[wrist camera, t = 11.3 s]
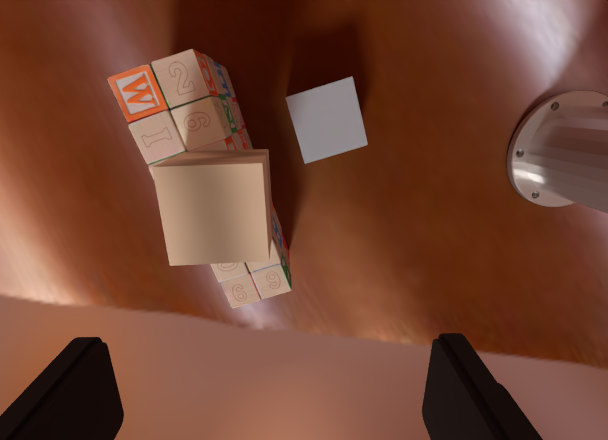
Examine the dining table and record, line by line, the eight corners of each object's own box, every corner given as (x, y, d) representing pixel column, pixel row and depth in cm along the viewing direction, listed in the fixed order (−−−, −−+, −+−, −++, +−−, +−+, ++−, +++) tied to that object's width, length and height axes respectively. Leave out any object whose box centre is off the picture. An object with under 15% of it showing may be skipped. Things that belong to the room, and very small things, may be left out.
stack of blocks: (291, 251, 40) (292, 311, 29) (242, 265, 41) (224, 331, 29) (225, 65, 33) (192, 45, 22) (167, 85, 34) (103, 76, 22)
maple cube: (268, 148, 24) (262, 163, 18) (273, 226, 26) (269, 261, 20) (184, 151, 24) (152, 167, 18) (195, 229, 26) (169, 265, 20)
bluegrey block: (341, 80, 34) (352, 76, 28) (355, 138, 36) (367, 144, 30) (285, 98, 34) (285, 97, 29) (302, 154, 36) (304, 163, 31)
